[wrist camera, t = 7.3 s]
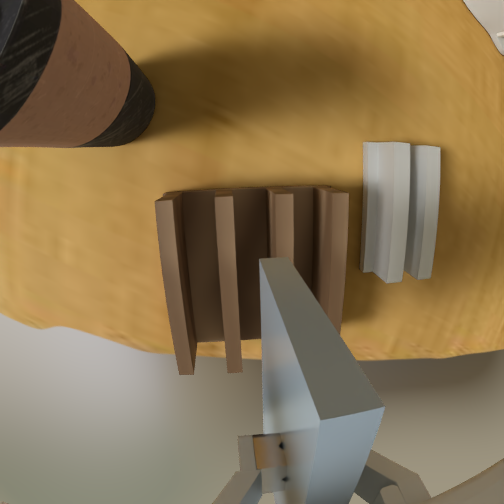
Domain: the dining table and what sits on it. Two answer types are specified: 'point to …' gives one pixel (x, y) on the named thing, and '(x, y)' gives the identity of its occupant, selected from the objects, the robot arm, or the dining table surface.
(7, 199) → the dining table surface
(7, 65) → the travel mug
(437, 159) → the plate stand
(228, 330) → the dish rack
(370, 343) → the dining table surface
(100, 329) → the dining table surface
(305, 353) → the side plate
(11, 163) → the dining table surface
